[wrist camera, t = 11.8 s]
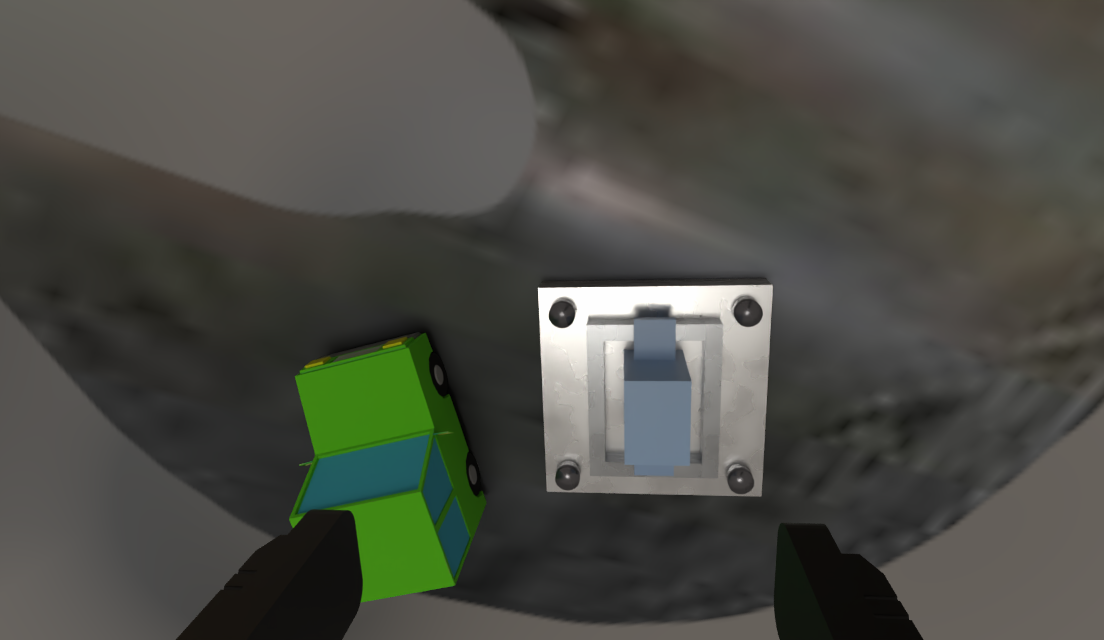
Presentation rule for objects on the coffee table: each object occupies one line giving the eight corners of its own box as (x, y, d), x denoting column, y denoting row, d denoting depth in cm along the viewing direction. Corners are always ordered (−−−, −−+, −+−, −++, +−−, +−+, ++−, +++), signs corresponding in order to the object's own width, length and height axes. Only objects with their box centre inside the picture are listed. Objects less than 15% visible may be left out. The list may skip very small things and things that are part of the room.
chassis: (541, 281, 42) (535, 293, 38) (765, 278, 40) (778, 290, 37) (550, 476, 45) (544, 502, 42) (755, 480, 44) (765, 508, 41)
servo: (623, 311, 40) (623, 336, 34) (683, 310, 39) (692, 336, 34) (624, 459, 42) (624, 504, 37) (680, 459, 42) (688, 505, 36)
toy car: (446, 317, 43) (395, 367, 34) (503, 490, 46) (472, 582, 37) (309, 352, 45) (224, 409, 35) (373, 517, 48) (311, 611, 38)
